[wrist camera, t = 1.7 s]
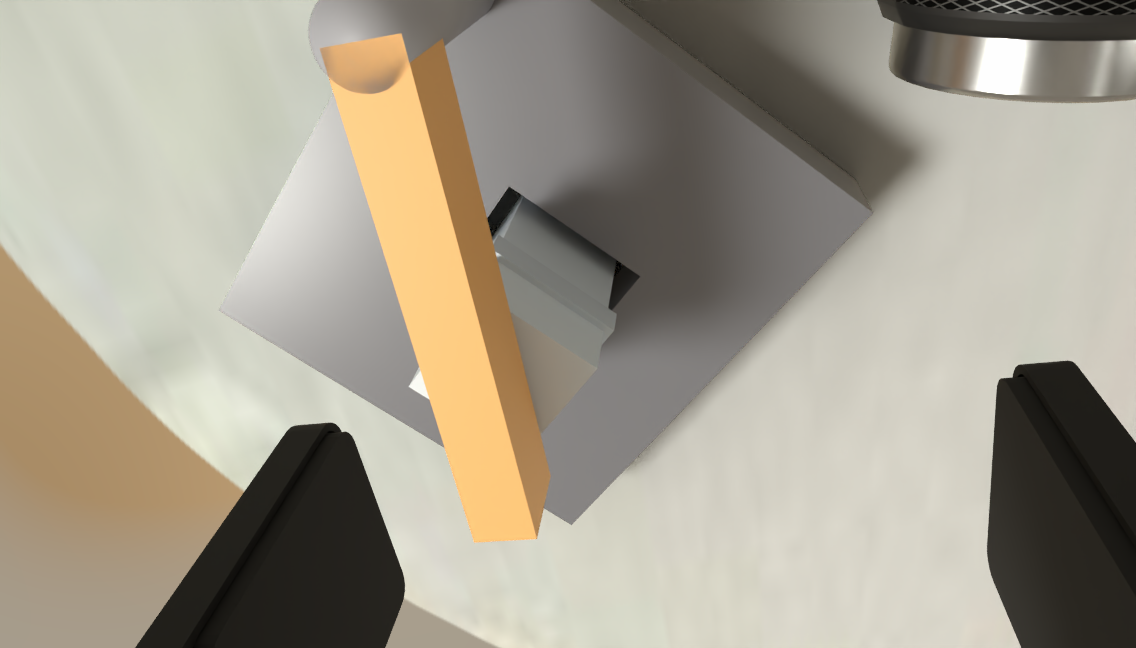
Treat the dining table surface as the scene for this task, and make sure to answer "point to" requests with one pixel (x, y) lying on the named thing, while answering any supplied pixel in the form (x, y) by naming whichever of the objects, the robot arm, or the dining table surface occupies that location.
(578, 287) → the plug
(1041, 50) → the muzzle brake
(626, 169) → the socket block
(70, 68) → the dining table surface
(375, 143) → the try square
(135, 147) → the dining table surface
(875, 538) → the dining table surface
